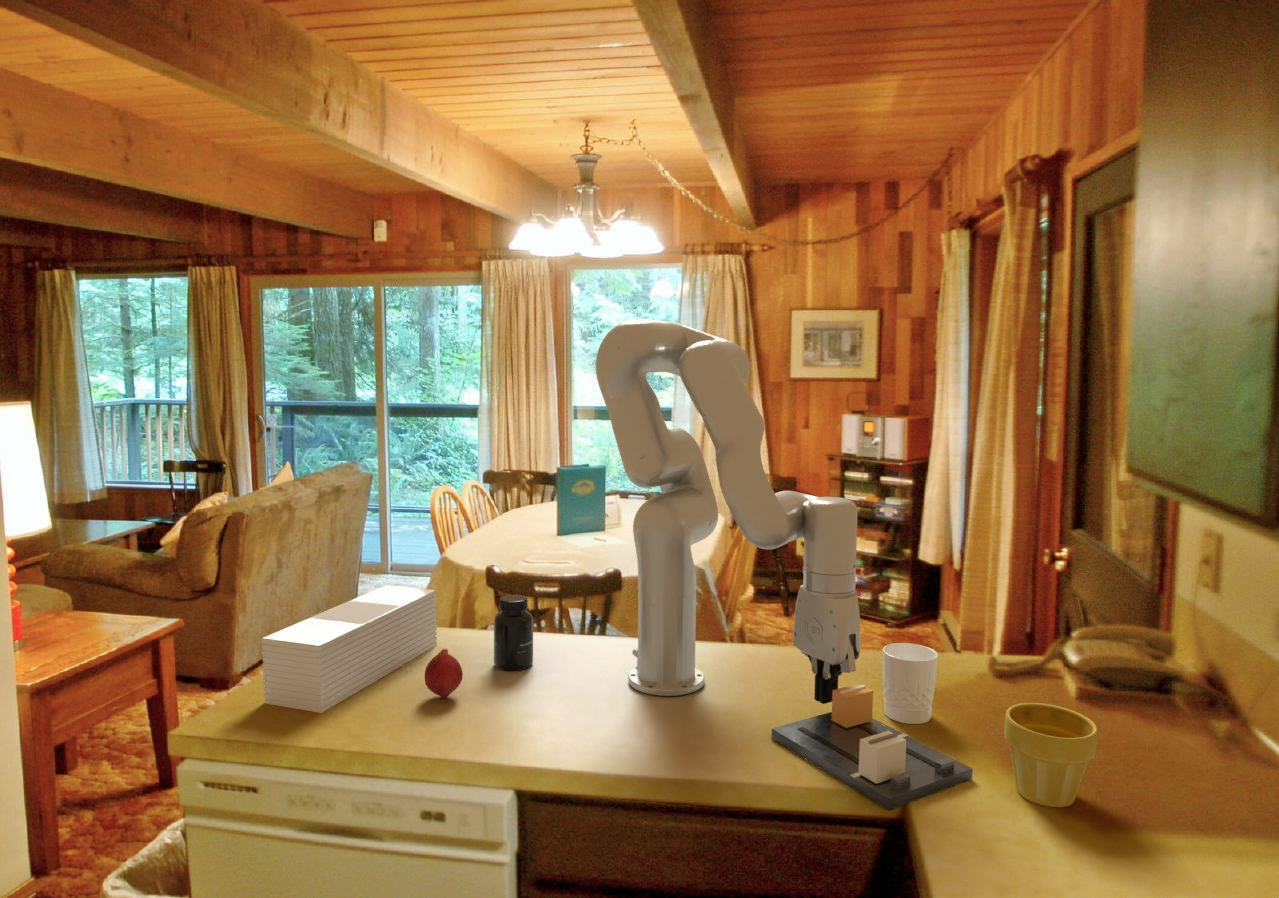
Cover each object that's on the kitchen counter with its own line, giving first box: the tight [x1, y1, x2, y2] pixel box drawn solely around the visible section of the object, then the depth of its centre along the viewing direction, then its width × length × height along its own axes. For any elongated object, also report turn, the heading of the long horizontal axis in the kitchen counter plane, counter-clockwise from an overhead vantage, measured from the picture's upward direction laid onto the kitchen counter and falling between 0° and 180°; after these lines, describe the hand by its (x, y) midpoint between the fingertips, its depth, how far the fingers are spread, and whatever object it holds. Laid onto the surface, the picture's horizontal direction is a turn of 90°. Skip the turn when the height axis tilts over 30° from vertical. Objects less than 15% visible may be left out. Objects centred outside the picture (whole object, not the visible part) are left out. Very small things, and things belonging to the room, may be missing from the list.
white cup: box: [882, 642, 939, 725], centre depth 128 cm, size 8×8×10 cm
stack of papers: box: [261, 584, 438, 714], centre depth 144 cm, size 32×11×11 cm, turn 161°
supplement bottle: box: [493, 594, 534, 672], centre depth 148 cm, size 7×7×12 cm
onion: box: [424, 647, 464, 699], centre depth 134 cm, size 6×6×8 cm
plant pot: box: [1003, 702, 1099, 808], centre depth 105 cm, size 10×10×10 cm
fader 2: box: [859, 731, 906, 784], centre depth 107 cm, size 3×5×5 cm, turn 120°
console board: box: [771, 711, 973, 811], centre depth 115 cm, size 22×15×3 cm
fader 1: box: [831, 683, 874, 728], centre depth 122 cm, size 3×5×5 cm, turn 120°
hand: (826, 700), depth 127 cm, fingers closed
